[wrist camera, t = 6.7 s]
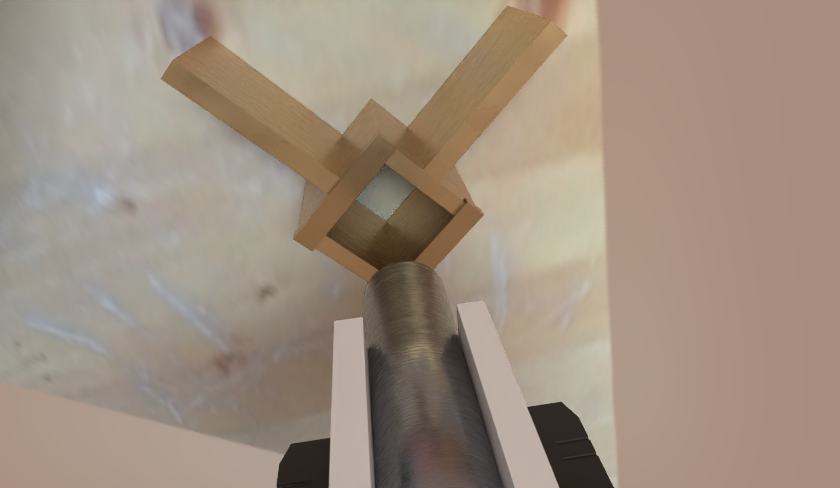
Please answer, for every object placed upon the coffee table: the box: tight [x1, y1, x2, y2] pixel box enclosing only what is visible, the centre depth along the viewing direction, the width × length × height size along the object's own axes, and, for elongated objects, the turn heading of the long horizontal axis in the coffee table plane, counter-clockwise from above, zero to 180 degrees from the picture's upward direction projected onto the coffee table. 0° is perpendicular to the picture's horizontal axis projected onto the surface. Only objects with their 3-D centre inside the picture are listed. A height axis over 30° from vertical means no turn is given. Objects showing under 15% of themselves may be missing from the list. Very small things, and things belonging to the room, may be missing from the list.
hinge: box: [161, 6, 567, 282], centre depth 23 cm, size 12×12×6 cm
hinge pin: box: [364, 261, 503, 488], centre depth 12 cm, size 4×4×13 cm
